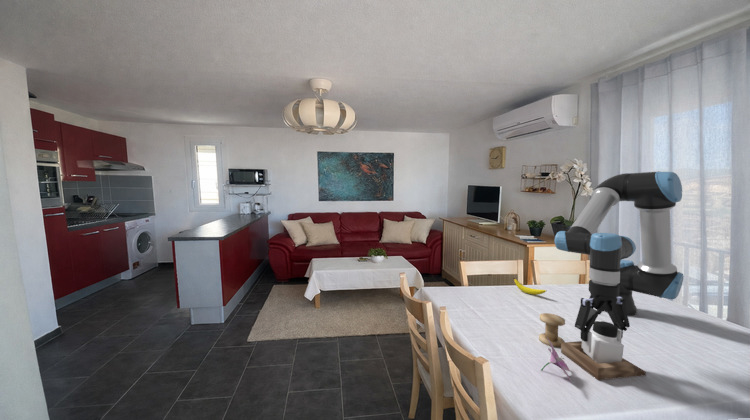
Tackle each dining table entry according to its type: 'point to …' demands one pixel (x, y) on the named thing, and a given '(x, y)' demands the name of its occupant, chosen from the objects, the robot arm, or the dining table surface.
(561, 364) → the lily
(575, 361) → the notched board
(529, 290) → the banana
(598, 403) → the dining table surface
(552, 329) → the bobbin
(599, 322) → the medicine bottle
